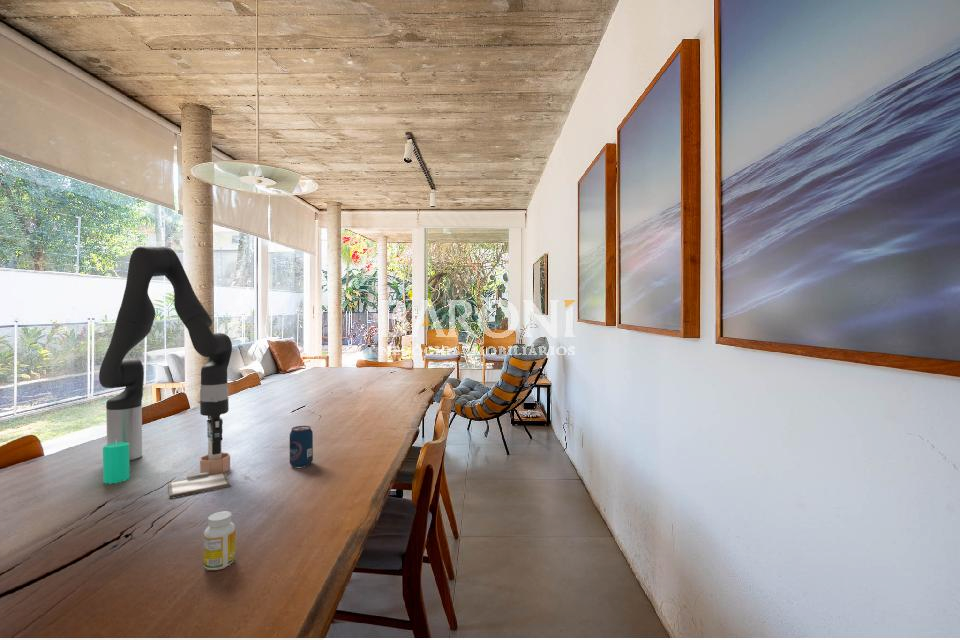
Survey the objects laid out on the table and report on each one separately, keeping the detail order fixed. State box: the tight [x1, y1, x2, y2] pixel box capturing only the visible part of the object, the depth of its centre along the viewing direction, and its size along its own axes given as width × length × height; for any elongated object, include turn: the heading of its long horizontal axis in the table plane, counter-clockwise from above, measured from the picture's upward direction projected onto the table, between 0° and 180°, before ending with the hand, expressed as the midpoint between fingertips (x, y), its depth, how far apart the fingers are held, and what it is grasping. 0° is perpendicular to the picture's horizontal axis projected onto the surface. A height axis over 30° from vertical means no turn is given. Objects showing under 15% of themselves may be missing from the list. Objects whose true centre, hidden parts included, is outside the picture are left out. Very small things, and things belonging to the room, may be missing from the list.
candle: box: [102, 442, 131, 484], centre depth 130 cm, size 6×6×12 cm
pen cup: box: [199, 452, 231, 475], centre depth 138 cm, size 8×8×4 cm
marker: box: [206, 431, 223, 461], centre depth 138 cm, size 4×4×12 cm
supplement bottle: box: [203, 510, 236, 569], centre depth 87 cm, size 5×5×10 cm
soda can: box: [289, 425, 314, 468], centre depth 143 cm, size 7×7×12 cm
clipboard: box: [168, 472, 231, 499], centre depth 126 cm, size 11×14×2 cm
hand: (214, 450), depth 138 cm, fingers open, 8 cm apart
